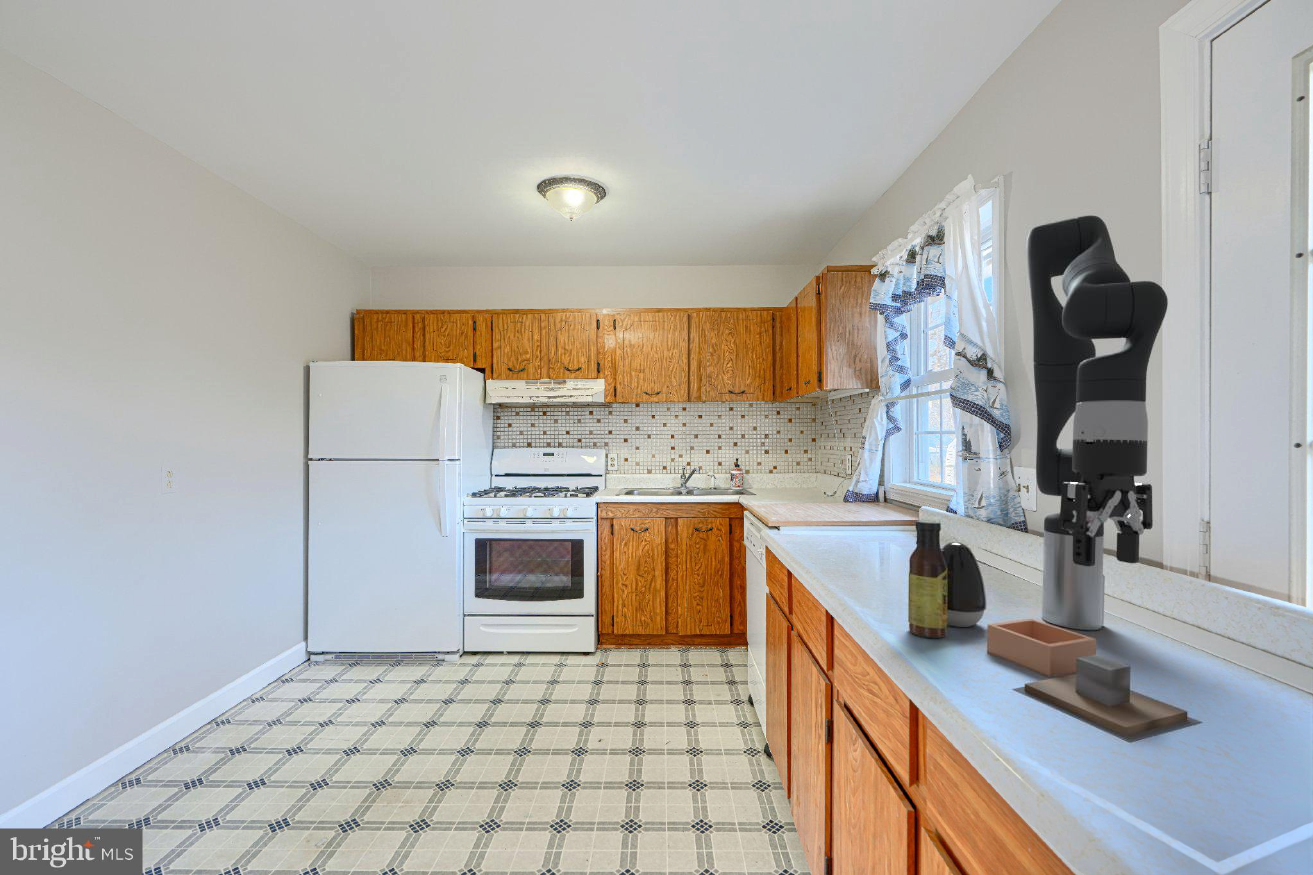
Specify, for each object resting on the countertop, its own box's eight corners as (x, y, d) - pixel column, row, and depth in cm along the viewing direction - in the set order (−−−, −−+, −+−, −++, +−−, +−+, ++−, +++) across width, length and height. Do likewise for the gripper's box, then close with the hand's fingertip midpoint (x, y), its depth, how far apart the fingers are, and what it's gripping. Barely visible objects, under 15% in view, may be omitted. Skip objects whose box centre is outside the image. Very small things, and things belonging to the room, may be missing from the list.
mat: (1080, 679, 82) (1080, 675, 82) (1202, 726, 69) (1202, 722, 69) (1012, 693, 77) (1012, 688, 77) (1129, 747, 64) (1129, 741, 64)
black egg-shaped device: (916, 612, 112) (918, 536, 112) (972, 615, 111) (974, 538, 111) (934, 629, 102) (936, 545, 102) (996, 633, 101) (998, 548, 101)
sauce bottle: (951, 641, 96) (954, 525, 96) (912, 637, 97) (915, 523, 97) (940, 628, 103) (942, 519, 103) (903, 625, 104) (906, 518, 104)
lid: (1083, 679, 80) (1084, 640, 80) (1187, 719, 69) (1188, 674, 69) (1024, 691, 76) (1025, 650, 76) (1125, 736, 65) (1126, 688, 65)
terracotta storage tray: (1030, 648, 94) (1030, 618, 94) (1095, 672, 84) (1096, 639, 84) (986, 655, 90) (987, 624, 90) (1049, 681, 81) (1050, 646, 81)
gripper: (1112, 439, 79) (1110, 556, 78) (1041, 436, 74) (1038, 560, 73) (1178, 440, 72) (1175, 567, 71) (1104, 435, 67) (1101, 573, 66)
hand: (1105, 563), depth 72 cm, fingers open, 8 cm apart
